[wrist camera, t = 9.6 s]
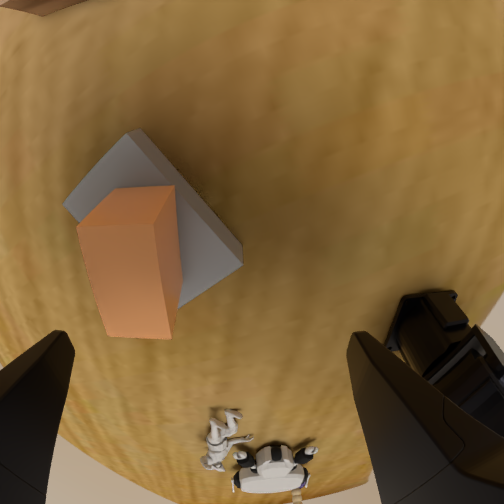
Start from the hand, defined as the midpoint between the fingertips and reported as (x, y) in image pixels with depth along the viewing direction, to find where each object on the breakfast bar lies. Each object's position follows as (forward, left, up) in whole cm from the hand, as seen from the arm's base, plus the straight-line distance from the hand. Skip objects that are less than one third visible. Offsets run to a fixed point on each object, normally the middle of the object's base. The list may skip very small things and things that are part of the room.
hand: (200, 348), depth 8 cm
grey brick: (-1, +4, -12) cm, 13 cm away
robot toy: (-39, -6, -12) cm, 41 cm away
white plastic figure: (-28, +1, -12) cm, 30 cm away
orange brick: (-1, +4, -9) cm, 10 cm away
